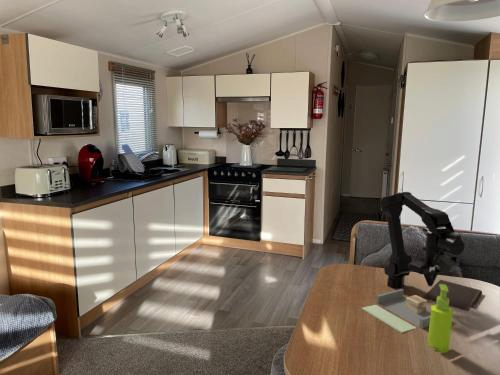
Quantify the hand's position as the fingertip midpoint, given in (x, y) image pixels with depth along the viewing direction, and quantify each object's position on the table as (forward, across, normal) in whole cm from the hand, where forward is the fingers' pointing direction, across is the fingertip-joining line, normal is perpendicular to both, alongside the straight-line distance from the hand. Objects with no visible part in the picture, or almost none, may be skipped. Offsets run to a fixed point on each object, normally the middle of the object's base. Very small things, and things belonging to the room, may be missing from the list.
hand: (429, 286), depth 140 cm
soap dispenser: (+9, -19, -18) cm, 28 cm away
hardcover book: (+10, +17, +2) cm, 20 cm away
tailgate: (+9, -17, 0) cm, 19 cm away
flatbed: (+9, -10, 0) cm, 13 cm away
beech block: (+8, -7, 0) cm, 10 cm away
